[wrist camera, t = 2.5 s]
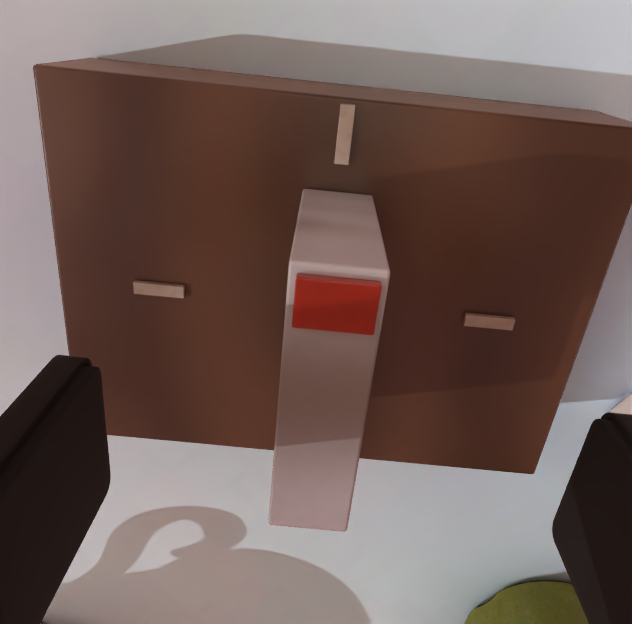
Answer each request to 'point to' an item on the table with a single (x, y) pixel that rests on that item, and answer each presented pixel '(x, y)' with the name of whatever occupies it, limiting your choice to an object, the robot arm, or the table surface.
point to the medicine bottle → (624, 406)
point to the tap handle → (327, 358)
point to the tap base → (277, 238)
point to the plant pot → (532, 605)
